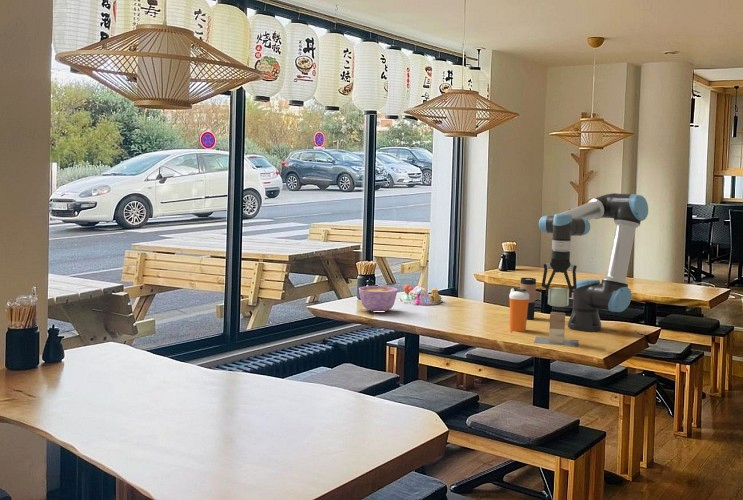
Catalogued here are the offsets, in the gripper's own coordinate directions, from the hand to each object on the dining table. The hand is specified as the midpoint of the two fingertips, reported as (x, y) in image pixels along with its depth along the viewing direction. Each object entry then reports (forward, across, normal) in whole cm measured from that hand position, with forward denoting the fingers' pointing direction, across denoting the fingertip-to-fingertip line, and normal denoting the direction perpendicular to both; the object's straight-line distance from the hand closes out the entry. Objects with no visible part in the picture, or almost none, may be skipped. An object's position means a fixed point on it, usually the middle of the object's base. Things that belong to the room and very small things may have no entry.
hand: (558, 304), depth 324 cm
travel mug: (+17, -17, +53) cm, 58 cm away
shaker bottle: (+17, -18, +18) cm, 31 cm away
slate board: (+17, 0, 0) cm, 17 cm away
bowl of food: (+17, -91, +42) cm, 102 cm away
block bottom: (+16, 0, 0) cm, 16 cm away
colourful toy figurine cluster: (+18, -77, +79) cm, 112 cm away
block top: (+10, 0, 0) cm, 10 cm away
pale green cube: (0, 0, 0) cm, 0 cm away
